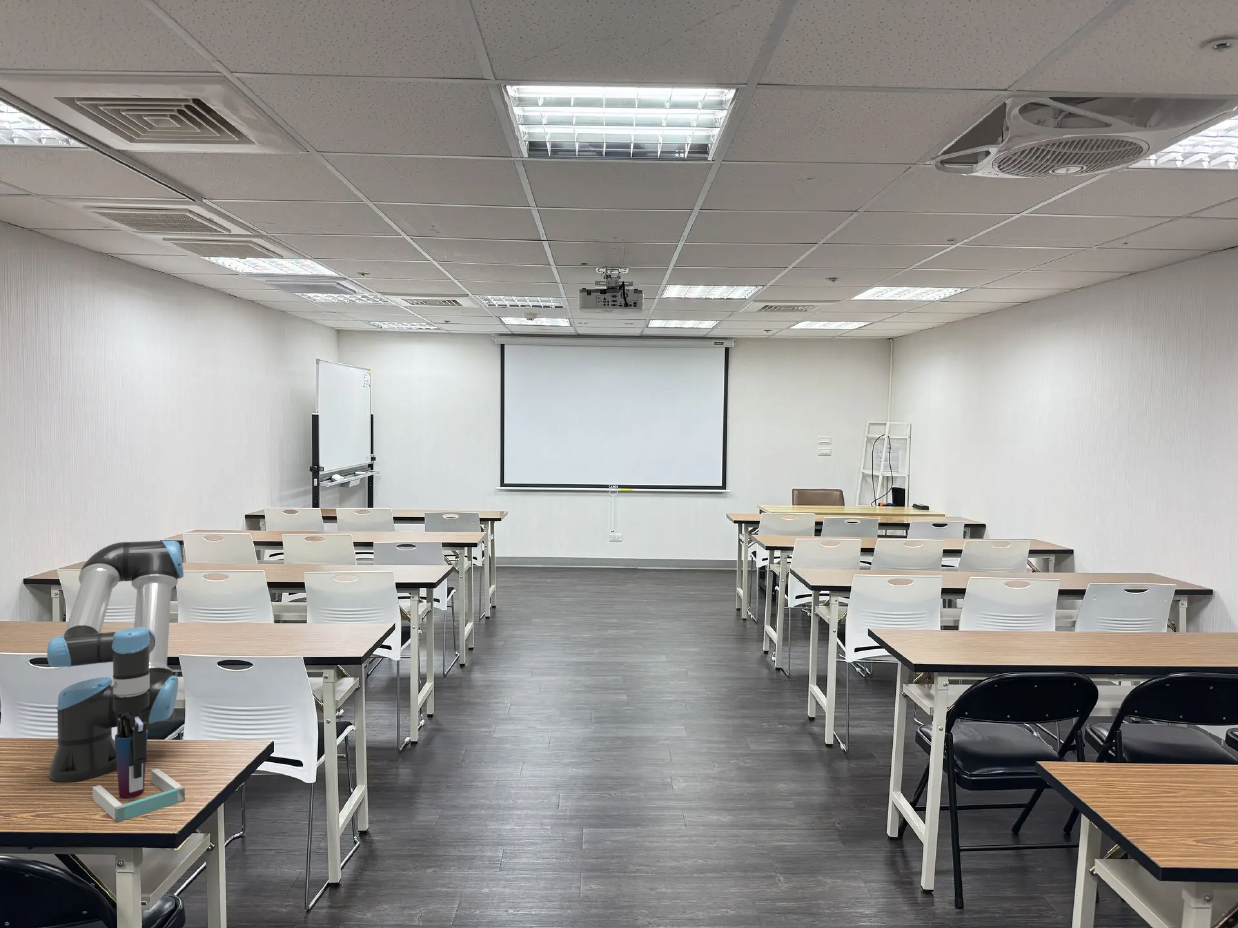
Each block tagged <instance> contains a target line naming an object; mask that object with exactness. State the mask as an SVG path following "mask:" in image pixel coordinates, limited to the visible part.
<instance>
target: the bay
mask: <svg viewBox="0 0 1238 928" xmlns="http://www.w3.org/2000/svg"><path fill="white" fill-rule="evenodd" d="M150 782H151V784H153V785H154V786H156V787H157V788H158V789H159V790H161V791H162V792H160V793H155V794H153V795H150V796H147V797H143V798H140V799H136V800H134V801H131V802H128V803H124V804H122V803H121V802H120V801H119V800H118V799H116V797H114V796H113V795H112V794H111V792H108V790H106V788H104V787H103V786H102V785H101V784H100V785H95V786H92V801H94V803H96V804H97V805H98V806H99V807H100V808H101V809H102V810H104V811H105V813H107V815H109V817H111V818H112V819H113V820H114V822H116V823H119V822H123V821H126V820H129V819H132V818H134V817H137V816H141V815H144V814H147V813H151V812H153V811H156V810H159V809H162V808H166V807H168V806H172V805H175V804H178V803H181V802H184V801H185V800H186V789H185V787H184V786H183V785H181V784H180V783H178V781H176V780H175V779H174V778H171V777H170V776H169V775H167V774H166V773H165V772H163V771H162V770H160V769H159V768H155V769H151V770H150Z"/></svg>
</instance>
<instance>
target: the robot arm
mask: <svg viewBox="0 0 1238 928" xmlns="http://www.w3.org/2000/svg"><path fill="white" fill-rule="evenodd" d="M181 550H182V549H181V545H180V543H179V541H176V540H163V539H161V540H150V541H149V540H147V541H145V540H144V541H128V542H127V541H122V542H121V541H119V542H116V543H112V544H109V545H107V546H105V547H103V548H102V549H99V550H98V551H97V552H95V553H94V554H93V555H91V556H90V558H88V559H87V560H86V562H85V563H84V564H83V565H82V567H81V569H80V572H79V575H78V582H79V585H80V586H79V589H78V592H77V594H76V597H75V600H74V603H73V606H72V610H71V611H70V616H69V618H68V621H67V624H66V627H65V630H64V633H63V635H60V636H55V637H51V639H50V640H49V642H48V645H47V649H46V650H47V652H46V655H47V657H46V658H47V662H48V663H47V664H48V665H49V666H50V667H52V668H62V667H63V668H64V667H67V668H71V667H76V666H77V667H78V666H88V665H95V664H96V665H97V664H106V663H112V678H111V677H110V676H109V677H108V676H105V677H103V676H101V677H95V678H91V679H86V680H82V681H79V682H76V683H73V684H70V685H68V686H67V687H65V688H64V689H62V690H60V692H59V694H58V696H57V707H56V710H57V746H56V750H55V753H54V756H53V758H52V761H51V762H50V766H49V771H48V773H49V774H48V775H49V776H48V777H49V778H48V779H49V780H51V781H53V782H59V783H61V782H62V783H65V782H66V783H67V782H69V783H70V782H77V781H82V780H83V781H84V780H88V779H92V778H95V777H98V776H99V777H100V776H101V775H104V774H107V773H110V772H112V771H114V770H115V769H117V761H116V748H115V739H114V738H113V734H112V733H113V732H112V730H113V728H117V729H116V734H117V733H120V732H121V733H122V738H130V737H133V740H130V759H131V764H128V767H129V792H130V793H131V792H134V791H138V790H141V789H143V763H144V762H146V763H147V761H148V759H147V751H146V729H147V724H153V723H155V722H160V721H161V722H162V721H166V720H168V719H169V718H170V717H172V714H173V712H174V709H175V706H176V701H177V696H178V688H179V677H178V676H177V675H173V674H174V673H173V670H172V668H170V667H169V666H168V649H169V634H170V633H169V632H170V614H171V601H172V600H171V599H172V597H171V596H172V589H173V588H175V587H176V586H177V585H178V581H179V580H178V579H180V580H181V579H182V578H183V577H184V576H185V575H184V574H185V573H184V564H183V558H182V551H181ZM120 582H131V586H132V587H133V588H134V589H135V590H136V601H135V613H134V621H133V622H134V623H133V624H134V625H133V627H130V628H123V629H121V630H117V631H110V632H102V628H103V624H104V621H105V618H106V613H107V611H108V606H109V603H110V599H111V596H112V592H113V589H114V588H115V587H116V586H117V585H118V584H119V583H120Z"/></svg>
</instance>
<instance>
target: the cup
mask: <svg viewBox="0 0 1238 928" xmlns="http://www.w3.org/2000/svg"><path fill="white" fill-rule="evenodd" d="M148 735H149V730H148V729H147V728H146V752H147V749H148V745H147V744H148ZM130 740H133V737H130V738H122V733H121V732H120V733H117V732H116V734H115V735H114V743H115V748H116V761H117V767H116V772H117V783H118V784H117V785H118V797H119V798H120V799H133V798H137V797H139V796H140V795H142V794H143V793H144V791H145V775H146V764H147V761H146V762H144V763H143V789H141V790H138V791H134V792H131V793H130V792H129V767H128V764H131V759H130Z"/></svg>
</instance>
